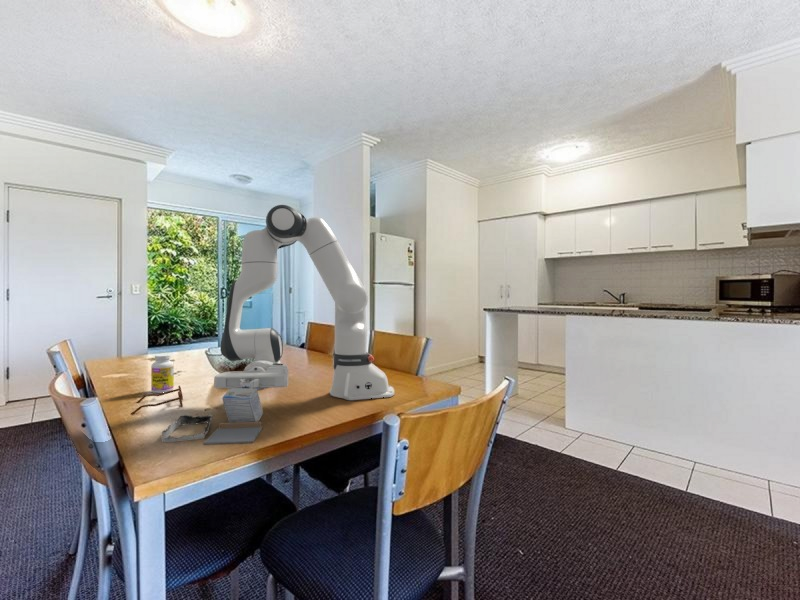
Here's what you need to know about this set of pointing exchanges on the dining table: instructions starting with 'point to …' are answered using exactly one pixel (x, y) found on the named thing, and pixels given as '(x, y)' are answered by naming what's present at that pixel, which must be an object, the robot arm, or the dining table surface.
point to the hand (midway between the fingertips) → (245, 386)
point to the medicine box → (242, 405)
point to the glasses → (161, 402)
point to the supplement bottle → (162, 374)
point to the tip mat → (235, 433)
